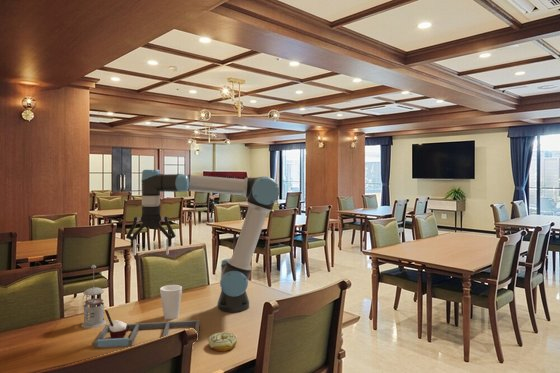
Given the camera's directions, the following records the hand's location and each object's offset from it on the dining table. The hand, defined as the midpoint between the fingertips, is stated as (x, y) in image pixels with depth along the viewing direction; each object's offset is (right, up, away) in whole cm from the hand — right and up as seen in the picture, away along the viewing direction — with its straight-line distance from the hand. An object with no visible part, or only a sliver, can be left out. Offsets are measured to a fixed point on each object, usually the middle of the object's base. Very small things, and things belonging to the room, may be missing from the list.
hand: (151, 254), depth 172 cm
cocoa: (-8, -30, -17) cm, 35 cm away
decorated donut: (+34, -30, -24) cm, 52 cm away
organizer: (+5, -29, -15) cm, 33 cm away
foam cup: (+7, -29, +5) cm, 30 cm away
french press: (-24, -29, -3) cm, 38 cm away
